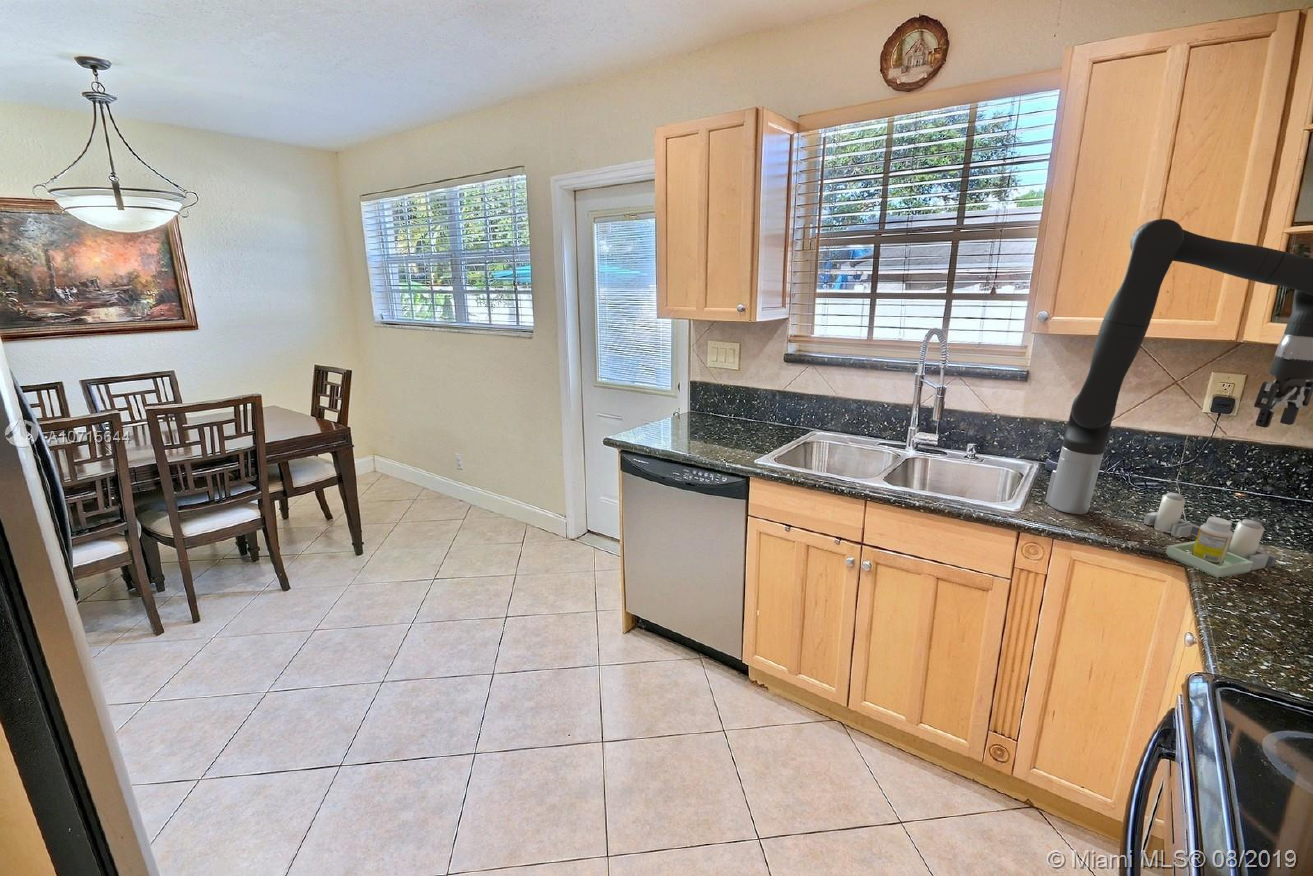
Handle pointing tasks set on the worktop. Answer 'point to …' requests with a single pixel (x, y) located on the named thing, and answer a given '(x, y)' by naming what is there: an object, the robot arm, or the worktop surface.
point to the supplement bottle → (1213, 540)
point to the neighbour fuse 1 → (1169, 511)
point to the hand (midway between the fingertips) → (1273, 425)
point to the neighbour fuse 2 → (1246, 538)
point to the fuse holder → (1186, 528)
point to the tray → (1228, 568)
